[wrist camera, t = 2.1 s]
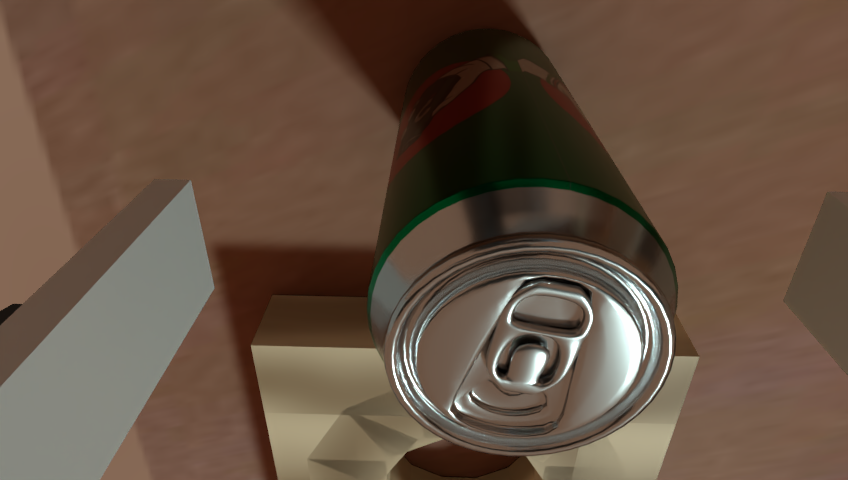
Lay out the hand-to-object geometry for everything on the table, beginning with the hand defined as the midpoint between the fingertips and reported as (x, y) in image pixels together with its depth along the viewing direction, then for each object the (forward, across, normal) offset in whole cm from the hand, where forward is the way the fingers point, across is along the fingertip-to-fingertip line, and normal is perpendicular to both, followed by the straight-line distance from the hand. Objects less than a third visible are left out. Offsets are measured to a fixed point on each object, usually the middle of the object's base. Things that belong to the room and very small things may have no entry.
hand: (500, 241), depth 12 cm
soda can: (+8, 0, +1) cm, 8 cm away
